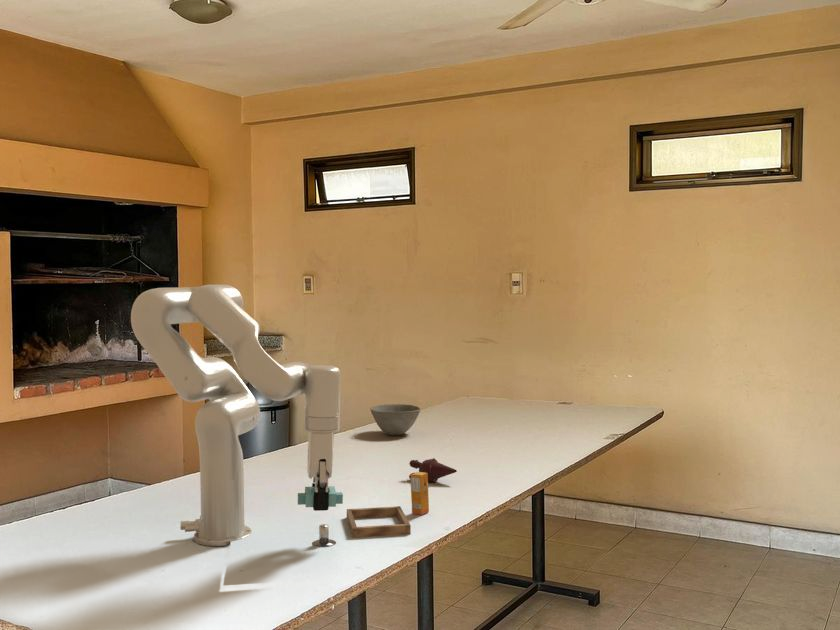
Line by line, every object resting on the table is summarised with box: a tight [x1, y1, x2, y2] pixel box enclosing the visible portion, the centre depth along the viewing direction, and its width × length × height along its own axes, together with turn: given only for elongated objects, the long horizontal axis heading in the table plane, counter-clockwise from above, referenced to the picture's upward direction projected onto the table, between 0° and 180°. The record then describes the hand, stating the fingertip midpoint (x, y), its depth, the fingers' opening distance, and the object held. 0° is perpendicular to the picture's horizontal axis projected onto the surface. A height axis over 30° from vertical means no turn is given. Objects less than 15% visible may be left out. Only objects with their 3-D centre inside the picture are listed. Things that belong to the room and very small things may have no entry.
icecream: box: [408, 457, 458, 484], centre depth 229 cm, size 7×7×15 cm
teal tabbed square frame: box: [297, 485, 344, 508], centre depth 173 cm, size 10×6×3 cm, turn 100°
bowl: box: [370, 403, 422, 436], centre depth 297 cm, size 19×19×10 cm
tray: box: [346, 505, 412, 539], centre depth 186 cm, size 13×15×3 cm
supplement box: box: [409, 471, 430, 516], centre depth 198 cm, size 3×3×10 cm
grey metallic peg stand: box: [311, 523, 337, 548], centre depth 173 cm, size 5×5×5 cm
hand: (319, 504), depth 173 cm, fingers closed on teal tabbed square frame, 5 cm apart
